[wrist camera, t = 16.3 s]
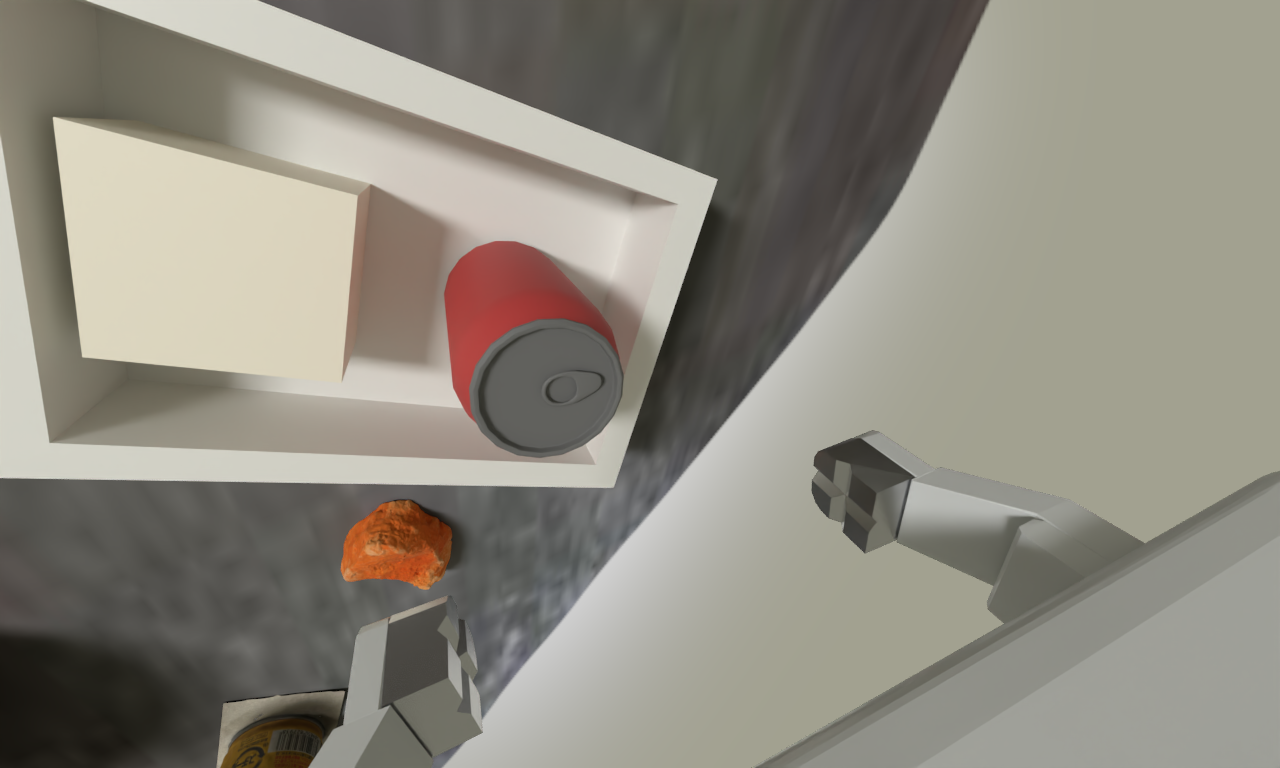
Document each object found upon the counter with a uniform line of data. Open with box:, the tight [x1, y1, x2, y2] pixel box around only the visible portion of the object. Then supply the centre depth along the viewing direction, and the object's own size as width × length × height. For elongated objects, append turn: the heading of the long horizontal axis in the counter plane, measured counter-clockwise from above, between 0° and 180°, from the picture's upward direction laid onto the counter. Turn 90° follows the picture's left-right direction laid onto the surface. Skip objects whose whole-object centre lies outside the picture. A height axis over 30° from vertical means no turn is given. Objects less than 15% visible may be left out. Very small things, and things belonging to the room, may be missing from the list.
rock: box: [341, 500, 452, 590], centre depth 31 cm, size 12×12×4 cm
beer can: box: [444, 241, 624, 458], centre depth 22 cm, size 7×7×12 cm
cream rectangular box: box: [53, 117, 371, 383], centre depth 20 cm, size 8×8×5 cm
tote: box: [0, 0, 717, 488], centre depth 22 cm, size 18×25×6 cm
